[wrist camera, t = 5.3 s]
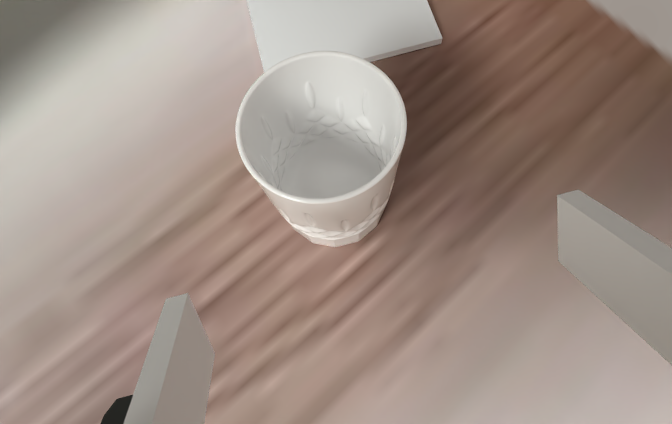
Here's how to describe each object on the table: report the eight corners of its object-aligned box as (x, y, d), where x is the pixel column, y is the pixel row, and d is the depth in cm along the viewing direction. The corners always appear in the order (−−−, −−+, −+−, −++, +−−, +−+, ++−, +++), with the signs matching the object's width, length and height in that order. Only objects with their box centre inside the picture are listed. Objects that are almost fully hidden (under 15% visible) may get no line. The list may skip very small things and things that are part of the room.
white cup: (256, 176, 32) (209, 93, 22) (359, 125, 32) (356, 25, 23) (307, 278, 29) (278, 234, 20) (417, 221, 30) (440, 152, 21)
